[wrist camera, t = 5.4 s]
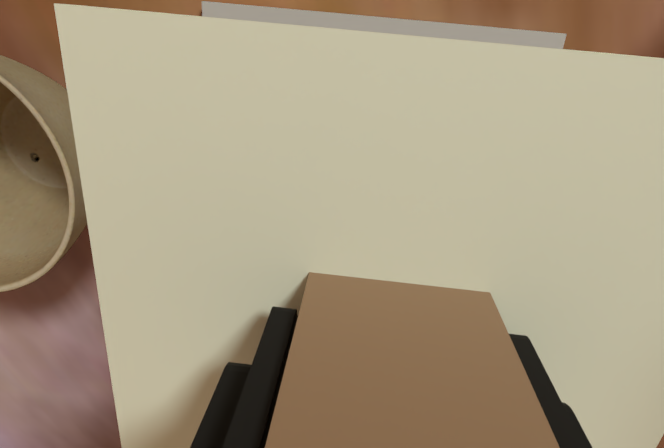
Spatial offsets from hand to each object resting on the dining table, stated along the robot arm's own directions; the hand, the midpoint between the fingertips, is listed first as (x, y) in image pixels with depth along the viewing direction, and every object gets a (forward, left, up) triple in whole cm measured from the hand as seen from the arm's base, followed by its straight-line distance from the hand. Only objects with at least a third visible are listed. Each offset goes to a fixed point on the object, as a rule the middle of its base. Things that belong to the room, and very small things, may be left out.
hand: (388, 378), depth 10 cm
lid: (0, 0, -2) cm, 2 cm away
